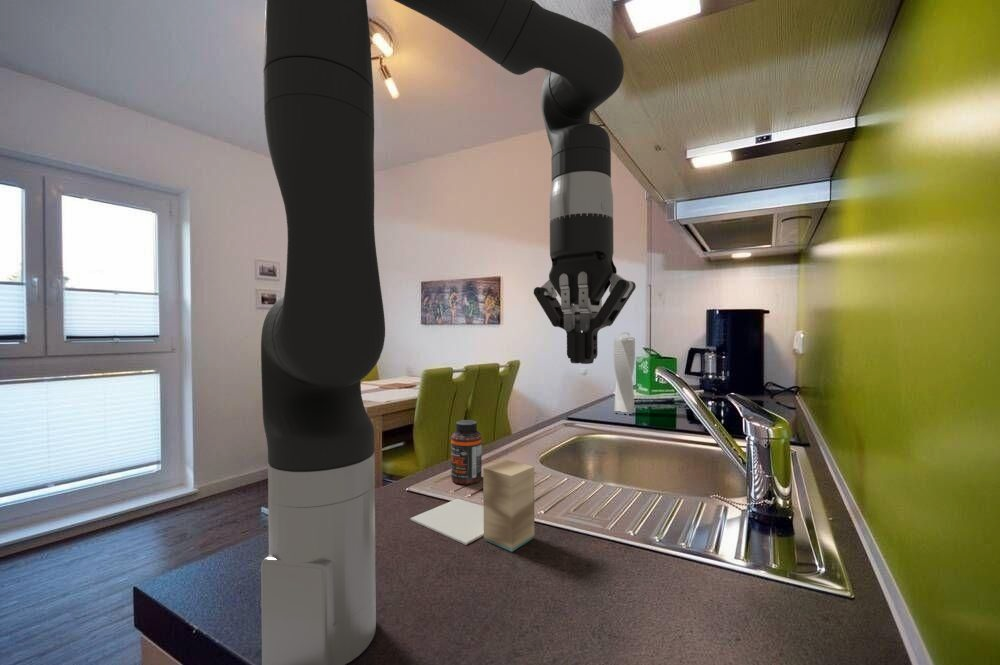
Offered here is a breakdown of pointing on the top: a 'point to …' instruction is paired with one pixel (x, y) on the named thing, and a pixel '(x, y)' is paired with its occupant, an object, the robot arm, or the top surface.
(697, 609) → the top surface
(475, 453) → the supplement bottle
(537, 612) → the top surface
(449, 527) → the grey mat
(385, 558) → the top surface
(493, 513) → the beech block
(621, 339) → the skyscraper
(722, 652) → the top surface
